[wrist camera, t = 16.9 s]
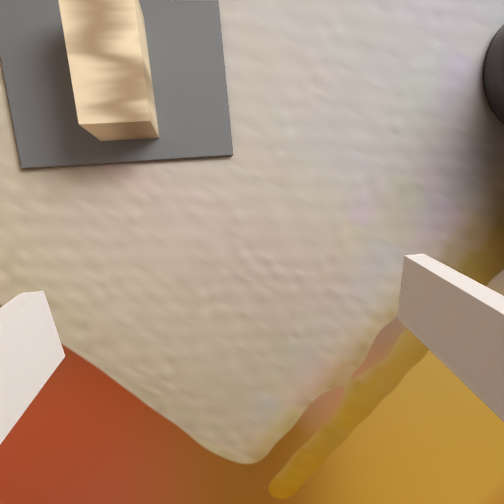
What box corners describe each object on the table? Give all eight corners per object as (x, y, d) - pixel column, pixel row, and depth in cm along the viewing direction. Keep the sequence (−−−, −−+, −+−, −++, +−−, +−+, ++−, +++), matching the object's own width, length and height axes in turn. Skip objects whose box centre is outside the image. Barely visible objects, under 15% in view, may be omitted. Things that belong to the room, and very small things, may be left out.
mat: (217, 4, 33) (218, 0, 32) (232, 155, 35) (233, 154, 34) (-7, 1, 30) (-11, -4, 29) (24, 168, 32) (21, 167, 31)
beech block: (159, 137, 33) (143, 18, 31) (150, 120, 27) (130, -28, 25) (101, 141, 32) (82, 17, 30) (78, 124, 26) (53, -30, 25)
